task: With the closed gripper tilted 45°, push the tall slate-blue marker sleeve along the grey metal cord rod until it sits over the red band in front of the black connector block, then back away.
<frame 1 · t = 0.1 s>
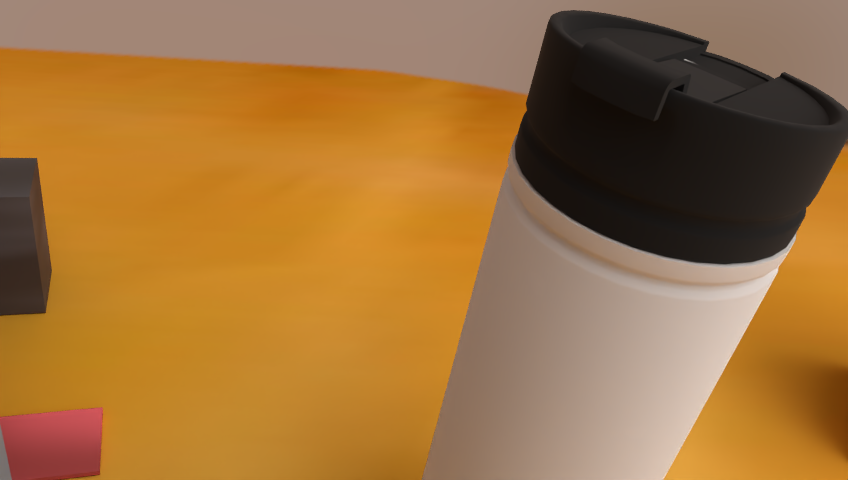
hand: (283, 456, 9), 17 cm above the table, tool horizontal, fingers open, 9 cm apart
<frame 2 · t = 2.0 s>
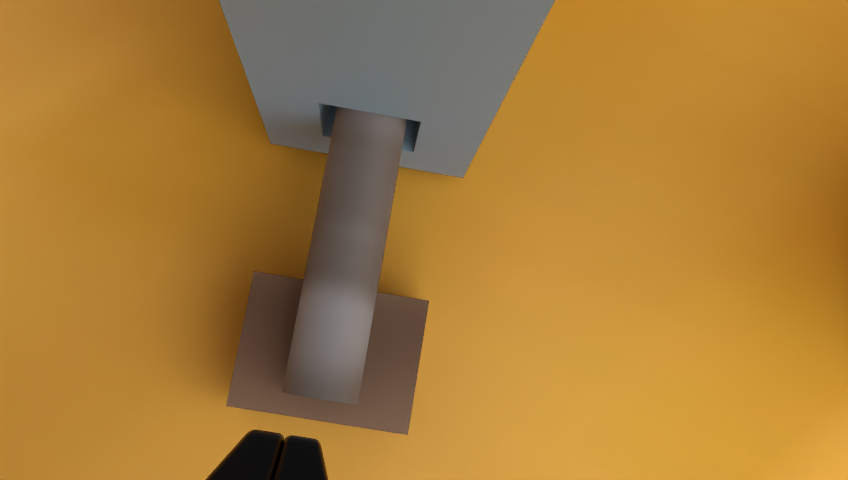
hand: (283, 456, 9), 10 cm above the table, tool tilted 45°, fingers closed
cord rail: (392, 27, 21), on the table
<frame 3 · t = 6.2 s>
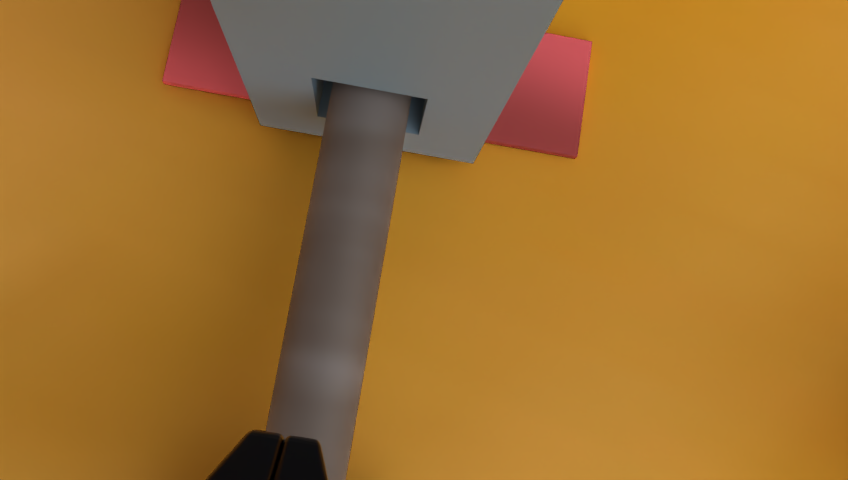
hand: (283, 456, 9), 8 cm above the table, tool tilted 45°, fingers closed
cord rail: (358, 201, 18), on the table
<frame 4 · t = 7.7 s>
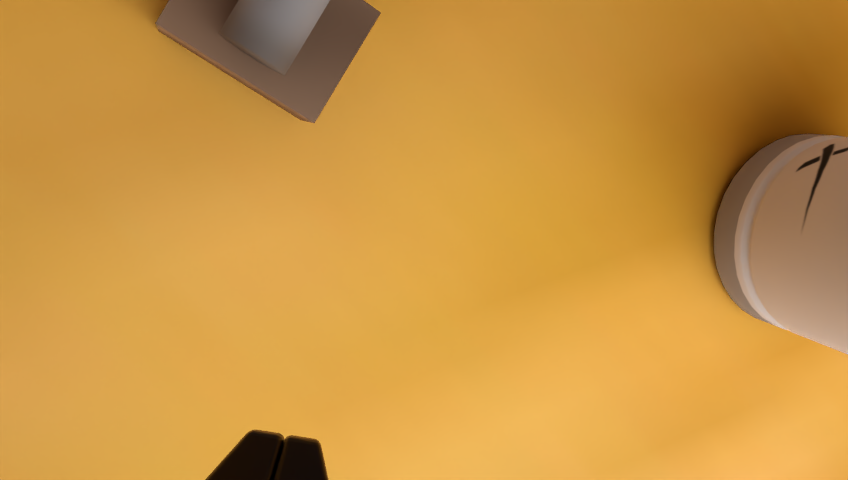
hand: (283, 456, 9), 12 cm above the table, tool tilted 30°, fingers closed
travel mug: (781, 228, 25), on the table
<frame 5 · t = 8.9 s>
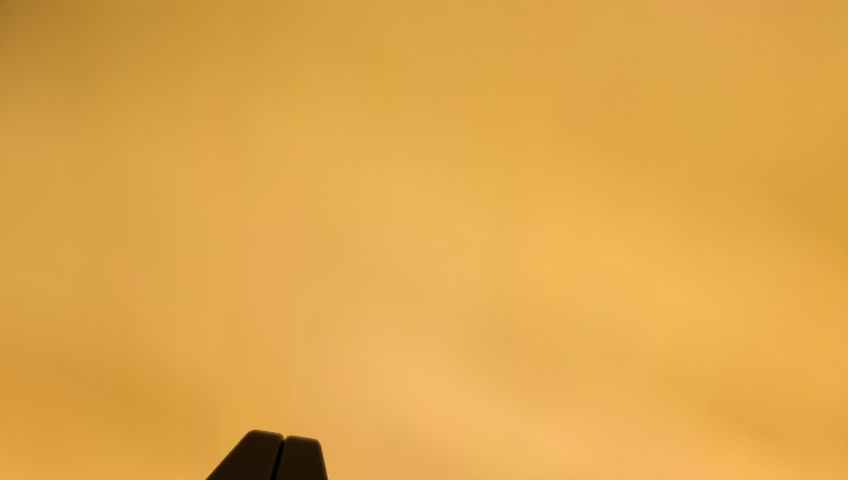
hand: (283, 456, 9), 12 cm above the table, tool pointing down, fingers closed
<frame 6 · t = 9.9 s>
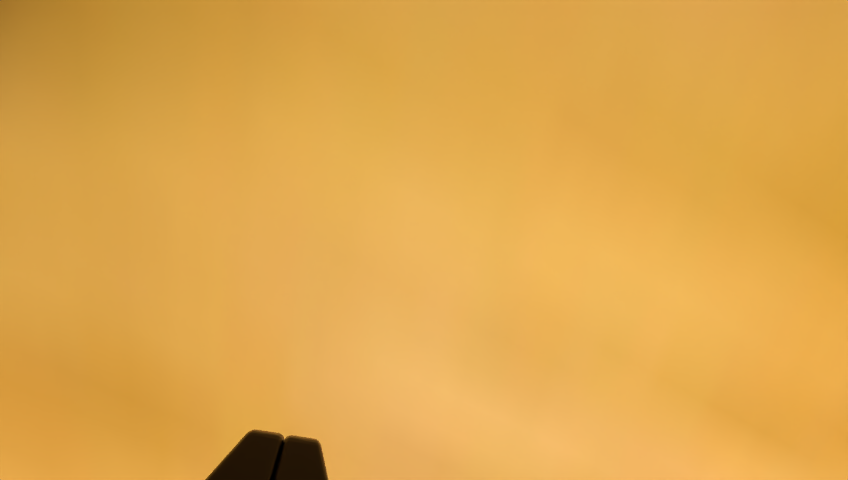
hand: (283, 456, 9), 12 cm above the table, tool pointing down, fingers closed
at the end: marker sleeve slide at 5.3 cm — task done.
